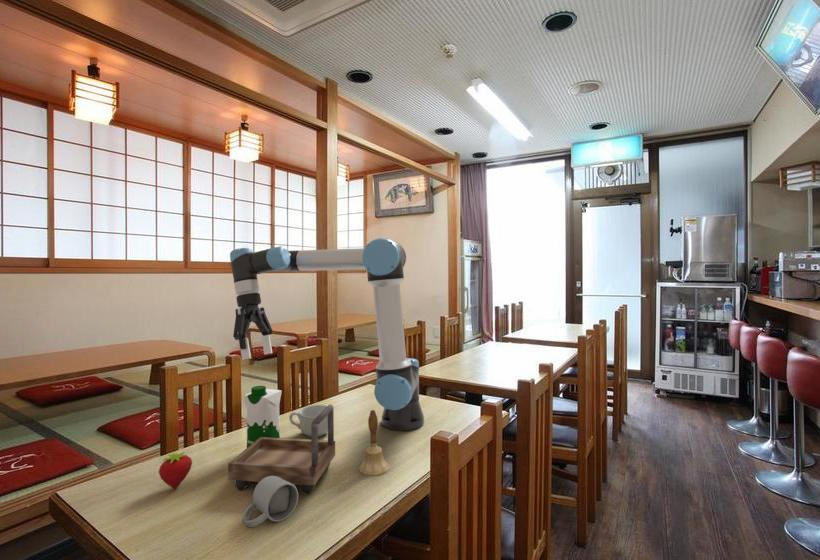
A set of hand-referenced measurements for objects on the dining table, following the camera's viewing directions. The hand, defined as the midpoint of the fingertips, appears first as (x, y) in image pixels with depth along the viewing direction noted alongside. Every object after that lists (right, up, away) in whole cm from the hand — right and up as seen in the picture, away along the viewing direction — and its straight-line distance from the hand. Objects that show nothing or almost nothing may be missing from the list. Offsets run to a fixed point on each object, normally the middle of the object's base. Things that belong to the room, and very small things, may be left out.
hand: (258, 356), depth 135 cm
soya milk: (+7, -26, -14) cm, 30 cm away
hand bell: (+41, -26, -24) cm, 54 cm away
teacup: (+18, -26, 0) cm, 32 cm away
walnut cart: (+18, -26, -29) cm, 43 cm away
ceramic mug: (+20, -27, -45) cm, 56 cm away
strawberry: (-8, -27, -34) cm, 44 cm away
